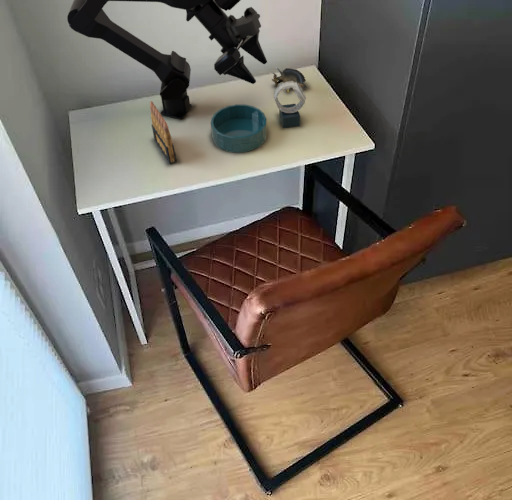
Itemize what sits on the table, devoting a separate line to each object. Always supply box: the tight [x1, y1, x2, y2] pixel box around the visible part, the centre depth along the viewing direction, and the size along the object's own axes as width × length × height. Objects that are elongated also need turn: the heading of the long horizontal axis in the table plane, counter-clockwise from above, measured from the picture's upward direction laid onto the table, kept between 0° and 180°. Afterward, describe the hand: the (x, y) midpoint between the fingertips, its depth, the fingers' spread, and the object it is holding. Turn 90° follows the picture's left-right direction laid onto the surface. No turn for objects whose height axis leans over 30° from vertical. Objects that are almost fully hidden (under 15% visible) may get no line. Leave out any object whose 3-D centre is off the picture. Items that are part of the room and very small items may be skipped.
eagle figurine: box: [271, 66, 308, 93], centre depth 158 cm, size 8×7×9 cm
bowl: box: [210, 103, 268, 154], centre depth 145 cm, size 14×14×4 cm
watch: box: [273, 81, 307, 129], centre depth 146 cm, size 6×8×11 cm
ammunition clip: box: [149, 100, 178, 165], centre depth 139 cm, size 11×2×12 cm, turn 27°
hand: (260, 72), depth 142 cm, fingers open, 9 cm apart
